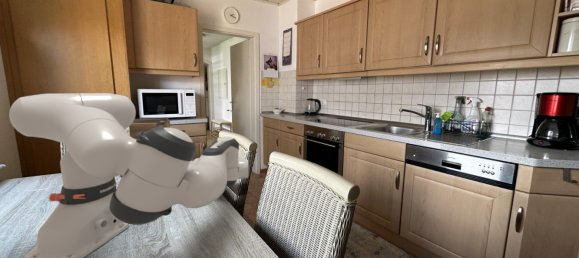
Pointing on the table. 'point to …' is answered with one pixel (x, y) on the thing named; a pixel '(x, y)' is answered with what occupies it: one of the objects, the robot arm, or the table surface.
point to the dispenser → (147, 125)
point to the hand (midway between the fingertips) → (176, 168)
